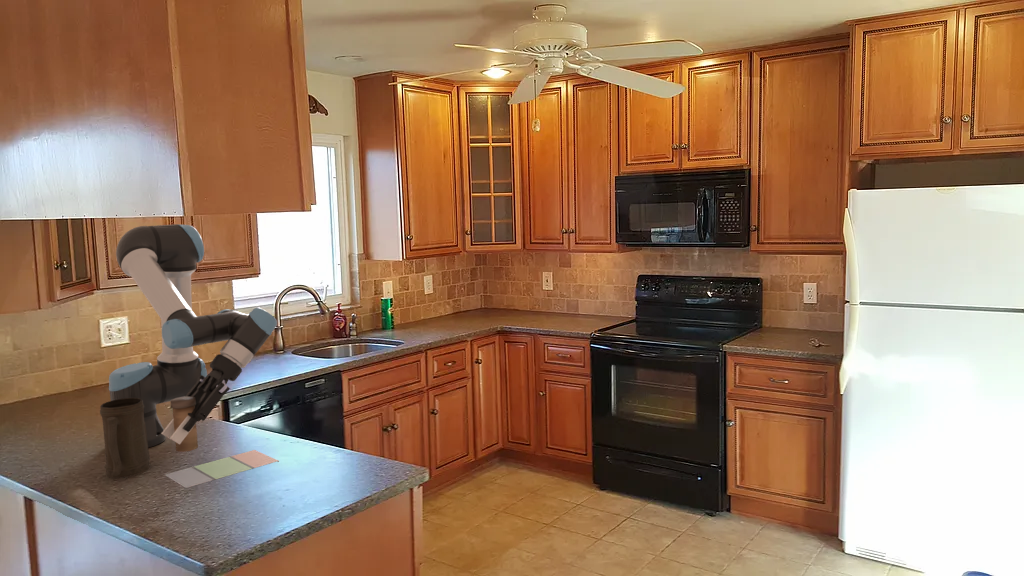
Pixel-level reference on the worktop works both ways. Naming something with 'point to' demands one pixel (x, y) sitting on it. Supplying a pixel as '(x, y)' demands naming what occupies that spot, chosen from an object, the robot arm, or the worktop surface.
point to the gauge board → (220, 468)
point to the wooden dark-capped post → (180, 412)
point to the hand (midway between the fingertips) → (170, 438)
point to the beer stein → (125, 437)
